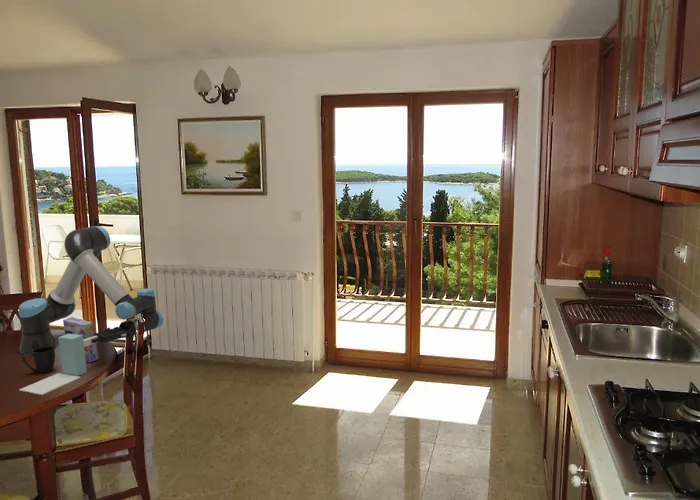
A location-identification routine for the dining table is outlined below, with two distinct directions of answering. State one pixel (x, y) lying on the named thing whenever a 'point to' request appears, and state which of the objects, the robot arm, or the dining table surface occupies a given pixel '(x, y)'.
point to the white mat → (49, 384)
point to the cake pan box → (87, 331)
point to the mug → (42, 359)
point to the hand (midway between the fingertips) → (82, 343)
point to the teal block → (72, 354)
